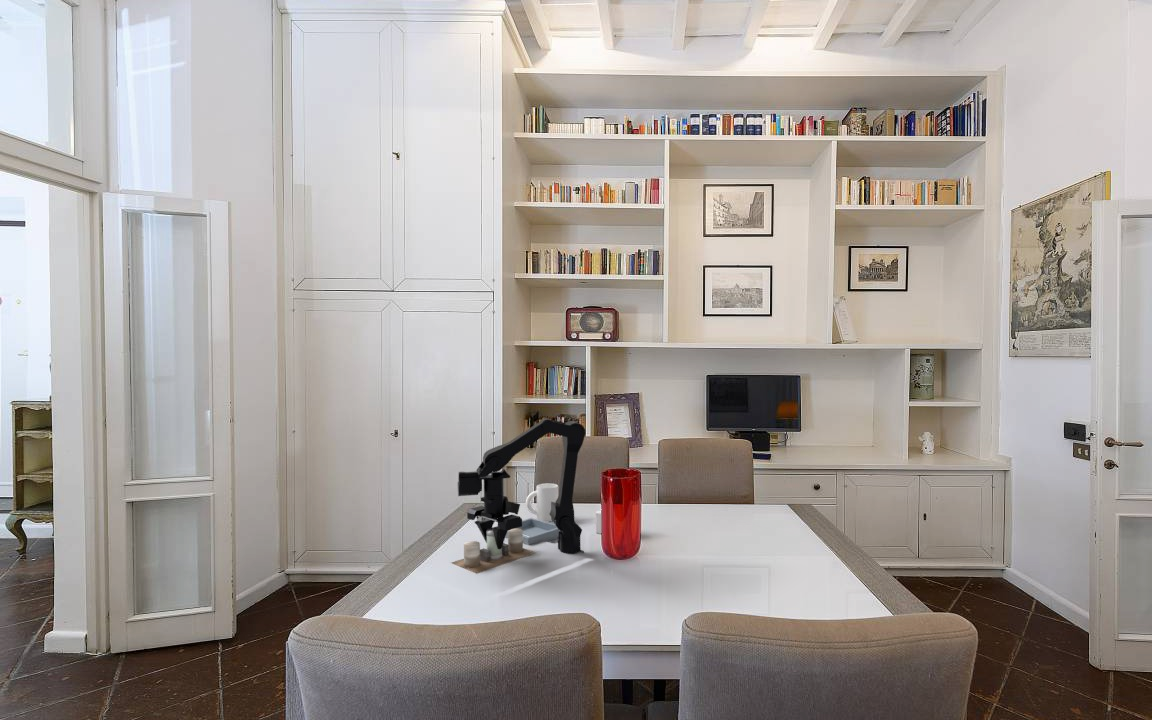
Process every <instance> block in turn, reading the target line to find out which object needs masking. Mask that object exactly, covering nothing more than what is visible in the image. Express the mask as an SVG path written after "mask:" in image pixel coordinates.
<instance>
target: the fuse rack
mask: <svg viewBox="0 0 1152 720" xmlns="http://www.w3.org/2000/svg"><path fill="white" fill-rule="evenodd" d="M536 553H537V551H534V550H530V549H529V548H524V543H523V530H522V529H518V528H515V529H511V530H508V538H507V543H505V542H503V545H502V558H501V559H499V560H490V550H487V548H484V547H483V548H481V543H480V542H479V541H476V540H474V541H473V540H471V541H467V542H466V541H465V542H464V543H463V558H461V559H458V560H455V561H452V562H451V564H452V565H455V566H457V567H460V568H462V569H465V570H467V571H469V572H471V573H475V574H477V575H478V574H479V573H483V572H485V571H488V570H491V569H493V568H496V567H499V566H502V565H506V564H507V563H511V562H514V561H516V560H519V559H522V558H524V557H528V556H531V555H534V554H536Z"/></svg>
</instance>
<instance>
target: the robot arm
mask: <svg viewBox="0 0 1152 720" xmlns="http://www.w3.org/2000/svg"><path fill="white" fill-rule="evenodd" d="M548 434H551V435H552V434H553V435H558V436H561V441H562V447H563V457H562V463H561V472H560V473H561V474H560V479H559V486H558V498H557V500H556V502H551V512H550V513H549V515H550V516H551V519H552V521H551V522H552V524H555V525H556V527H557V528H558V529H559V530H560V532H558V538H557V549H558V550H559V551H560V552H561V553H563V554H568V555H569V554H572V555H574V554H578V553H583V554H585V550H582V549H581V548H582V547H581V535H582V532H583V529H582V528H581V526H580V525H579V524H578V523H577V521H575V508H574V502H573V497H574V488H575V482H576V473H577V465H578V456H579V452H580V450H581V448H582V446H583V443H584V440H585V437H586V428H585V427H584V426H583V425H582V424H581V423H579V422H577V421H574V420H568V421H567V422H563V421H558V420H553V419H551V418H550V419H549V418H547V417H545V418H542V419H541V420H539V422H537V423H536V424H534V425H533V426H531V427H529V428H528V429H527V430H525V431H523V432H522V433H520V434H519V435H517V436H516V437H514V438H513V439H511V440H510V441H508V442H506V443H503V444H501V445H497V446H494V447H492V448H490V449H487V450H486V451H485V452H484V453H483V455H482V462H481V463H480V464H479V466H478V467H477V469H476V470H475V471H458V481H457V497H466V496H468V497H469V496H477V495H479V493H481V492H482V491H483V496H481V497H480V502H483V506H482V505H480V506H477V507H476V506H475V507H472V508H469V509H468V511H467V513H466V515H467V519H468V520H471V521H474V520H476V521H474V524H475V525H476V527H477V528H478V530H479V532H480V533H481V535H482V537H483V540H484V542H485V543H486V544H487V535H486V530H487V529H490V528H493V533H494V537H495V541H496V545H497V548H498V549H501V548H502V545H503V543H505V536H506V534H507V531H508V530H511V529H515V528H518V527H521V526H522V520H523V518H522V517H521V516H519V515H518V514H519V511H520V508H521V503H517V502H513V501H510V500H509V498H508V496H506V495H505V493H504V489H505V487H504V484H505V482H504V479H511V475H510V474H509V473H508V472H507V471H506V469H505V466H506V465H508V464H509V462H510V461H511V460H512V459H513V458H514V457H515V456H516V455H517V454H518V453H520V452H522V451H523V450H525V449H527V448H528V447H529V446H530V445H533V444H534V443H535V442H536V441H538V440H541V438H543V437H545V436H546V435H548ZM482 481H483V482H482ZM510 513H511V514H510ZM495 522H496V523H497V525H496V526H494V523H495ZM493 526H494V527H493Z"/></svg>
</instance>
